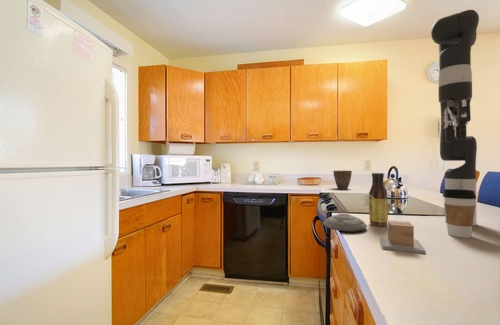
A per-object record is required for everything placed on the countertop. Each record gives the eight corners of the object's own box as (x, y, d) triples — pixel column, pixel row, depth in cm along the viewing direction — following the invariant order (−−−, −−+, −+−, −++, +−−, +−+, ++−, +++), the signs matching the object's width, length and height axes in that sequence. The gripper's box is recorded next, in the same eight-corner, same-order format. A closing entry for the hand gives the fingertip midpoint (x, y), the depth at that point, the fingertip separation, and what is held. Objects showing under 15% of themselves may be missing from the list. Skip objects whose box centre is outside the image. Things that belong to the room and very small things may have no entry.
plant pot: (353, 190, 205) (353, 171, 205) (334, 190, 209) (334, 171, 209) (350, 188, 220) (350, 170, 220) (332, 188, 223) (332, 170, 223)
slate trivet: (379, 238, 79) (379, 235, 79) (417, 242, 75) (417, 239, 75) (382, 249, 70) (382, 245, 70) (425, 253, 66) (425, 250, 66)
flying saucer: (348, 237, 82) (348, 220, 82) (314, 227, 94) (314, 212, 94) (376, 230, 89) (375, 214, 89) (341, 221, 102) (341, 208, 102)
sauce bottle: (371, 221, 100) (371, 172, 100) (389, 224, 96) (388, 172, 96) (367, 225, 95) (366, 172, 95) (385, 227, 91) (385, 173, 91)
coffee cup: (437, 233, 84) (436, 188, 84) (453, 230, 87) (452, 187, 87) (466, 240, 76) (465, 191, 76) (483, 237, 79) (482, 189, 79)
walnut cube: (388, 238, 76) (388, 220, 76) (409, 240, 74) (409, 221, 74) (390, 244, 71) (390, 224, 71) (413, 246, 69) (413, 226, 69)
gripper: (482, 74, 65) (483, 137, 65) (461, 89, 78) (462, 141, 78) (446, 78, 67) (447, 139, 68) (432, 92, 81) (432, 142, 81)
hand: (455, 140), depth 73 cm, fingers open, 8 cm apart
